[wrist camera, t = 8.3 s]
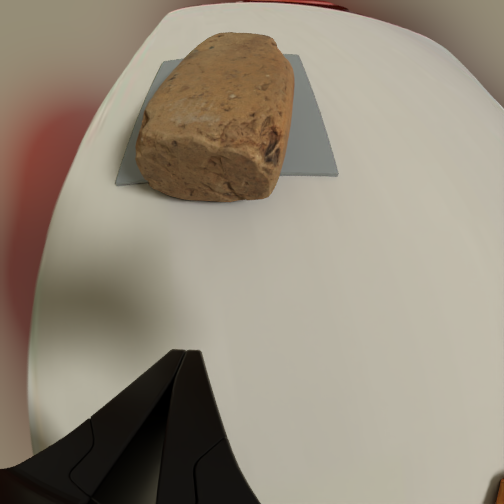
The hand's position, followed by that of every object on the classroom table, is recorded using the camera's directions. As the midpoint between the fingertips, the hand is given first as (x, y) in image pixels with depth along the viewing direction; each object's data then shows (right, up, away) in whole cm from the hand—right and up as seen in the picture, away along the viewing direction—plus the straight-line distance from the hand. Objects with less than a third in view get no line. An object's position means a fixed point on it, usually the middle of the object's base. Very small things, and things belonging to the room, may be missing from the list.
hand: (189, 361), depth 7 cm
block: (-2, +8, +10) cm, 13 cm away
